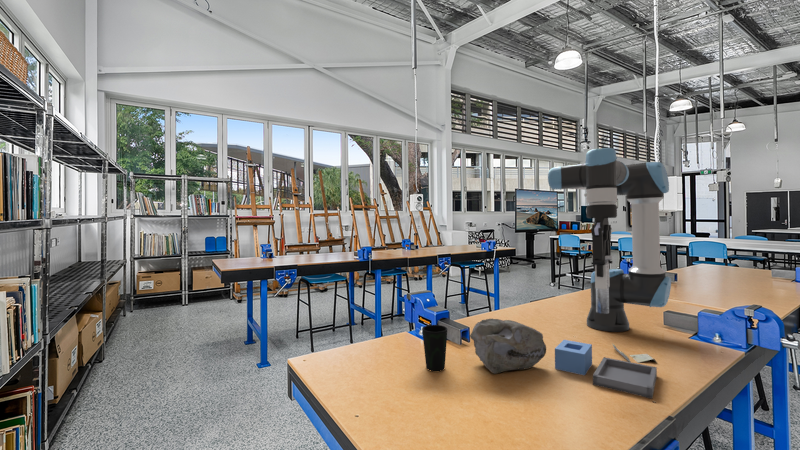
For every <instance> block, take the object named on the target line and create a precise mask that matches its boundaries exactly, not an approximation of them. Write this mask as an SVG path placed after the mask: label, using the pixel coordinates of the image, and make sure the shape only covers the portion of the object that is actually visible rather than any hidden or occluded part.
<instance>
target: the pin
mask: <svg viewBox="0 0 800 450" xmlns="http://www.w3.org/2000/svg"><path fill="white" fill-rule="evenodd" d="M612 256H613V255H611V256H610V255H605V265H606V276H607V289H600V288H596V312H597V313H602V314H608V313H609V269H610V267H609V268H608V264H609V263H608V260H610V261H613V260H612V258H613V257H612ZM591 259H592V260H593V254H592V256H591Z"/></svg>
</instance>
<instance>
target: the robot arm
mask: <svg viewBox="0 0 800 450" xmlns="http://www.w3.org/2000/svg"><path fill="white" fill-rule="evenodd" d="M547 182H548V186H549V187H550V188H551V190H560V191H561V190H568V189H569V190H584V191H585V190H586V192H585V193H584V194H583V196H584V197H586V203H587V204H588V205H587V206H586V213H585V214H586V218H587V219H594V223H593V225H592V227H591V228H590V231H591V232H590V233H591V241H592V245H591V246H592V255H593V259H592V261H591V266H592V265H593V266H594V271H592V273H591V274H590V282H589V283H590V308H589V311H588V314H587V317H586V325H587V326H588V327H590V328H591V329H595V330H598V331H605V332H610V333H611V332H613V333H614V332H615V333H616V332H617V333H618V332H619V333H620V332H627V331H629V330H630V322H629V319H628V316H627V313H626V311H625V304H629V305H636V306H637V305H638V306H645V307H649V308H652V307H653V308H664V307H665V306H667V304H668V301H669V298H670V293H671V289H672V288H671V287H672V278H671V277H670V276H668V275H666V270H665V269H663V268H662V266H661V247H660V246H661V245H660V243H661V239H660V236H661V235H660V203H661V201H662V200H663V199H665V194H667V193H669V191H670V182H669V176H668V173H667V169H666V167H665V165H664V164H663V163H662V162H660V161H647V162H639V163H632V164H625V163H624V162H622V161H619V160H618V157H617V151H616V149H615V148H613V147H601V148H594V149H591V150H588V151H587V152H586V154H585V162H584V163H581V164H570V165H563V166H562V165H559V166H556V167H555V166H554V167H551V168H550V169H549V171H548V173H547ZM618 196H626V201H627V202H628V203H630V205H631V207H630V208H631V237H632V239H631V240H632V266H631V267H630V268H628V273H625V271H624V270H623V269H621V268H612V269H611V268H610V264H613V260H608V268H609V313H608V314H602V313H597V312H596V288H600V289H607V276H606V265H605V255H610V256H612V253H611V252H612V250H611V249H612V244H611V242H612V241H611V239H612V238H611V237H612V230H613V229H612V227H611V224H610V223H609V219H615V218H617V217H618V209H617V208H618V205H616V204H615V203H617V202H618Z"/></svg>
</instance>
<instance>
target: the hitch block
mask: <svg viewBox="0 0 800 450" xmlns="http://www.w3.org/2000/svg"><path fill="white" fill-rule="evenodd" d="M592 365H593V345H592V344H591V343H585V342H581V341H574V340H569V339H563V340H561V342H560V343H559V344H558V345H556V347H554V369H555V370H559V371H564V372H567V373H572V374H577V375H582V376H585V375H586V374H587V373H588V371H589V370H590V369H591V367H592Z"/></svg>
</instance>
